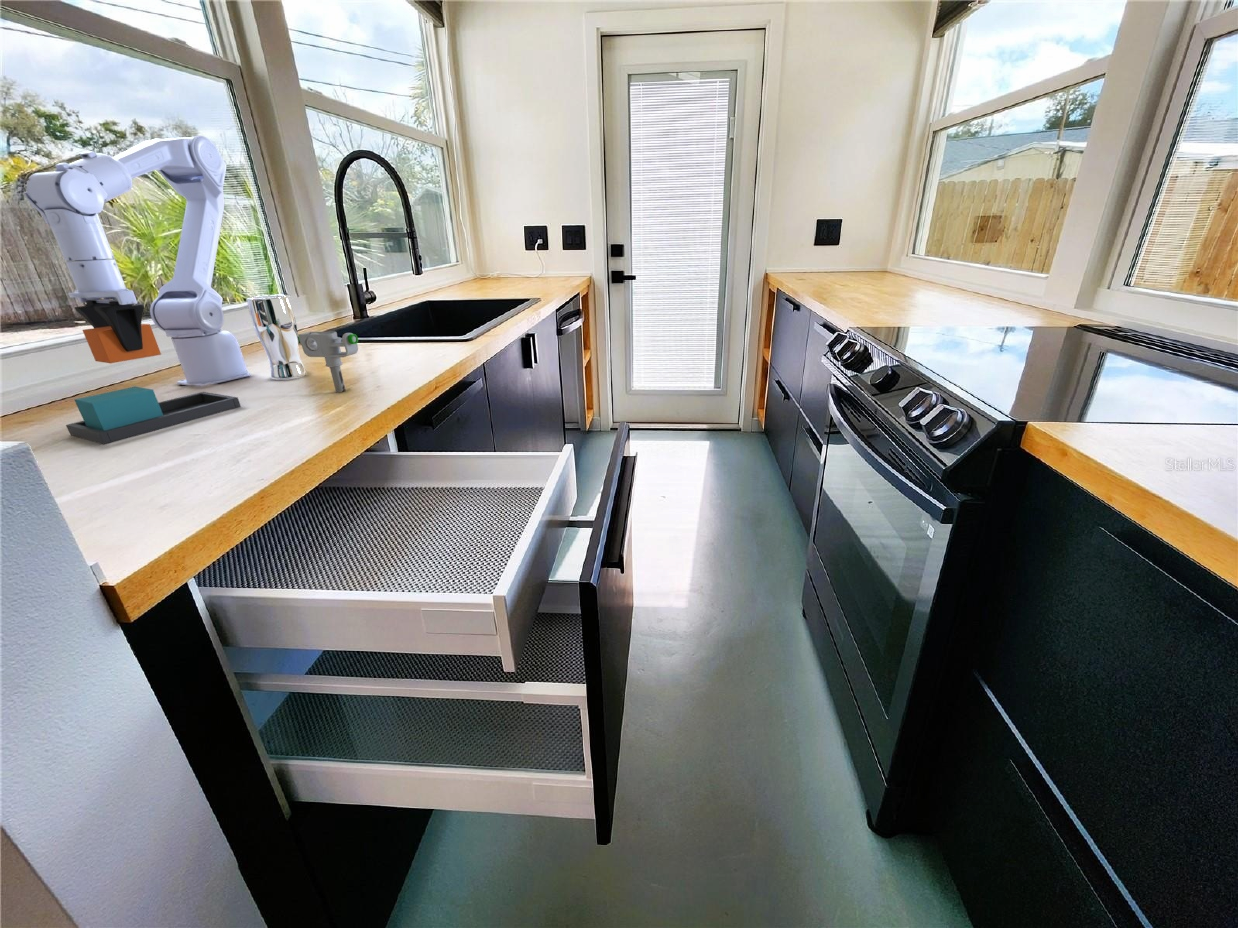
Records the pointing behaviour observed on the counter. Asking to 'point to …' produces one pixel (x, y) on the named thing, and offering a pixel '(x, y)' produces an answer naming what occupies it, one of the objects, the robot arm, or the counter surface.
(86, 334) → the orange block
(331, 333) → the mechanical component
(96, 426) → the teal rectangular block
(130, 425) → the tray
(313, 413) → the counter surface
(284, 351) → the beer glass
